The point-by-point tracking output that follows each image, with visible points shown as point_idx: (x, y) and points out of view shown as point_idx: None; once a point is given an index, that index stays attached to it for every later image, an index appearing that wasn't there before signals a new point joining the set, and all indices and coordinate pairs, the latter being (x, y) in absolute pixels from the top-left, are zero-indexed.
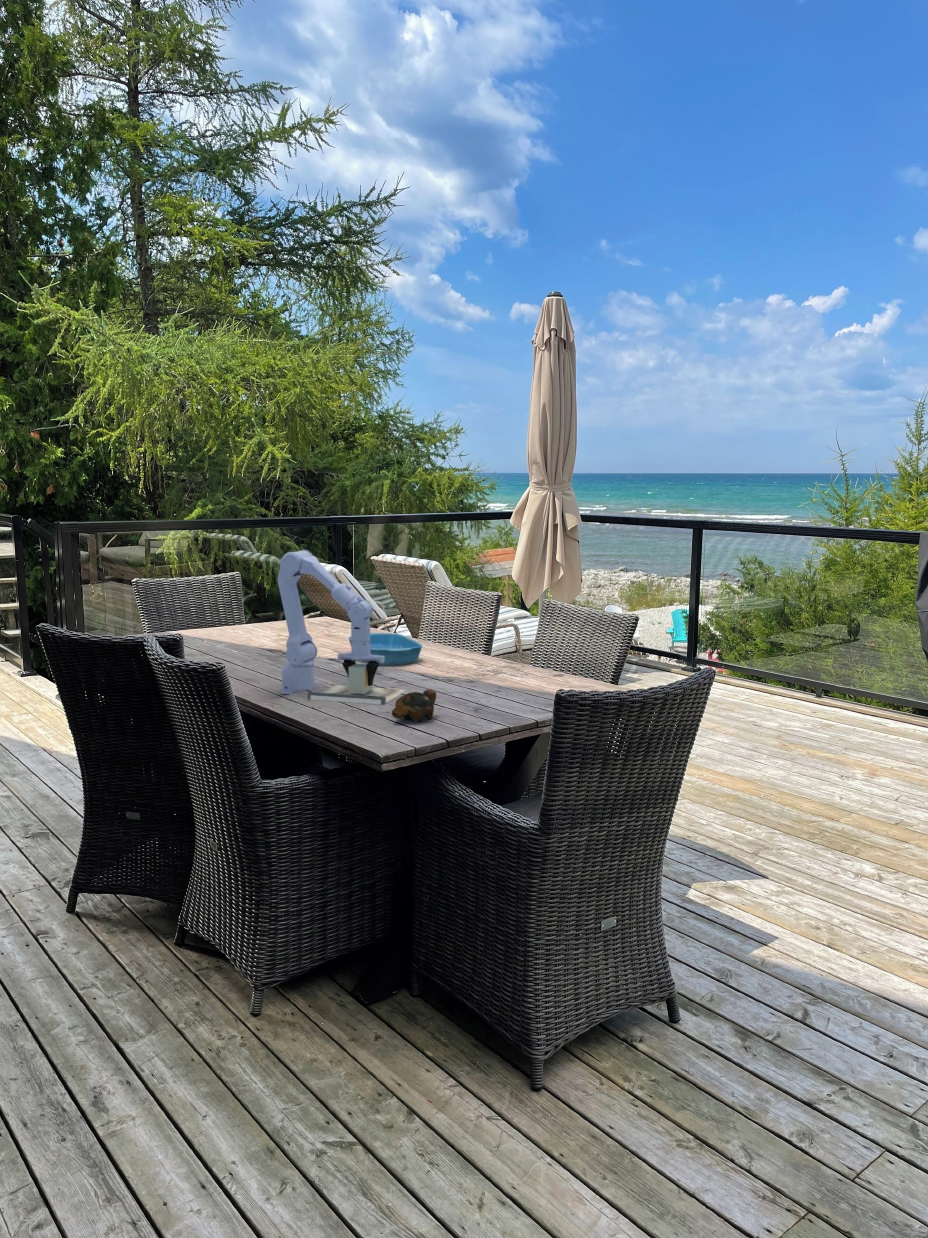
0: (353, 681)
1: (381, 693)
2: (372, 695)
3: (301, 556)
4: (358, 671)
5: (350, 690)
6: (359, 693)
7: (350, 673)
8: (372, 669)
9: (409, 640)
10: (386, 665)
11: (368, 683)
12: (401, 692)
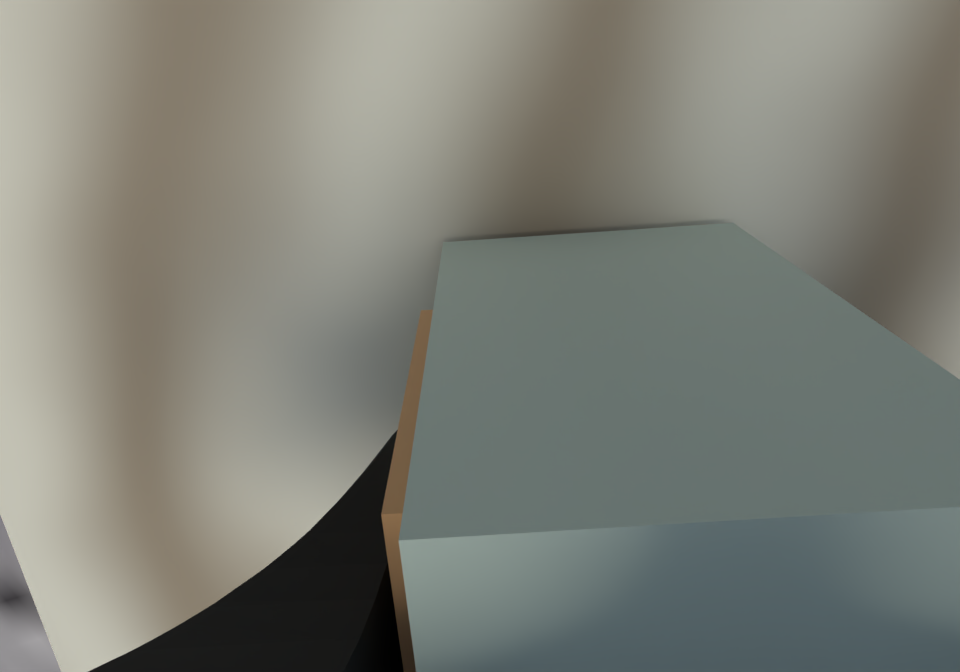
0: (711, 302)
1: (258, 438)
2: (316, 276)
3: None
4: (629, 440)
5: (718, 236)
6: (535, 238)
7: (891, 383)
8: (163, 637)
9: None
10: None
11: None
12: (33, 571)
